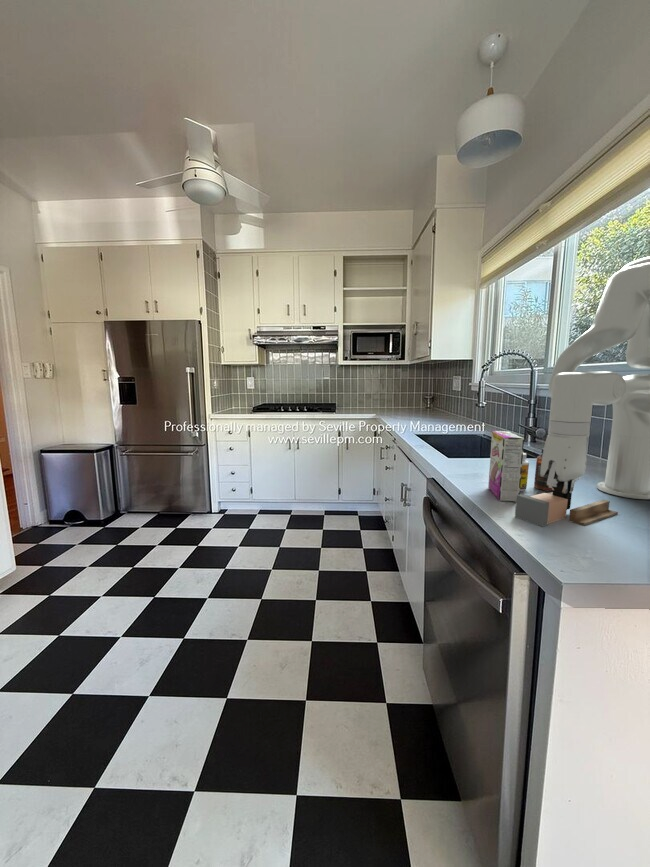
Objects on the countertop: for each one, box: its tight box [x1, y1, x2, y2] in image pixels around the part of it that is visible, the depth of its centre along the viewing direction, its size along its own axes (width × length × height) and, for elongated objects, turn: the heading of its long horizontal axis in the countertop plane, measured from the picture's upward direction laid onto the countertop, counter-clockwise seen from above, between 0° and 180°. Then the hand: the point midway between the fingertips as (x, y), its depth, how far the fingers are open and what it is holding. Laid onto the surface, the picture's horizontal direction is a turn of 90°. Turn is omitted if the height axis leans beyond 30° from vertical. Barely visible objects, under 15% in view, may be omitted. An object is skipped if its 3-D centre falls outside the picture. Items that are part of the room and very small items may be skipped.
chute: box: [547, 491, 618, 526], centre depth 81 cm, size 14×13×2 cm
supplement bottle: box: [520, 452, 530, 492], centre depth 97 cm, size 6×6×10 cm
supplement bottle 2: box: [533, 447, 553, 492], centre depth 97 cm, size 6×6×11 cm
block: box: [530, 492, 568, 525], centre depth 77 cm, size 8×5×4 cm, turn 118°
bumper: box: [514, 493, 549, 528], centre depth 74 cm, size 2×6×5 cm, turn 28°
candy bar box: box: [487, 430, 525, 503], centre depth 91 cm, size 11×5×16 cm, turn 169°
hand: (560, 507), depth 80 cm, fingers closed
